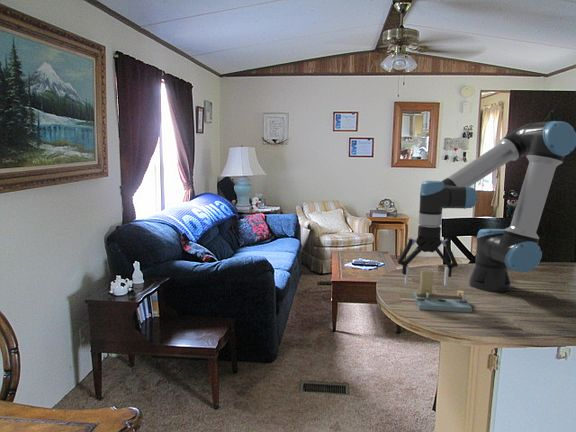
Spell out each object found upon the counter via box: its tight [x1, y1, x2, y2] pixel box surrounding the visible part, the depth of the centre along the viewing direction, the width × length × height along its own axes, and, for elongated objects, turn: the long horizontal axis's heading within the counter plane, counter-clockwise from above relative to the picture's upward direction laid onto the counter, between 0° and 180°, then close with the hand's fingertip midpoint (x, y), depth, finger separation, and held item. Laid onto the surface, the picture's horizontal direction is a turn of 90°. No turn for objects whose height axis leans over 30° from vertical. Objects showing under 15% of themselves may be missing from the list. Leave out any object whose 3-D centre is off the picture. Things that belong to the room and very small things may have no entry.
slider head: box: [419, 269, 434, 299], centre depth 161 cm, size 4×6×9 cm, turn 173°
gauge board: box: [412, 290, 473, 313], centre depth 159 cm, size 17×14×4 cm
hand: (425, 284), depth 162 cm, fingers open, 13 cm apart
